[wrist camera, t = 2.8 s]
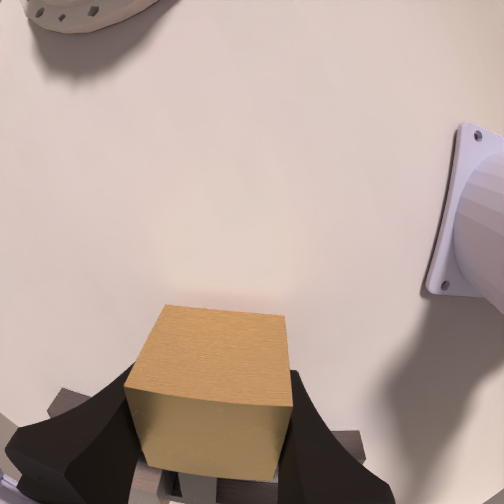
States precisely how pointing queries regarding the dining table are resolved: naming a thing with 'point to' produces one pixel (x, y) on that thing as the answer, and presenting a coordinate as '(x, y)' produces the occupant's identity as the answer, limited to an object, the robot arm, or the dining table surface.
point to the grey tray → (212, 488)
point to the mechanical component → (81, 13)
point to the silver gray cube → (151, 484)
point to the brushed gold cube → (212, 393)
